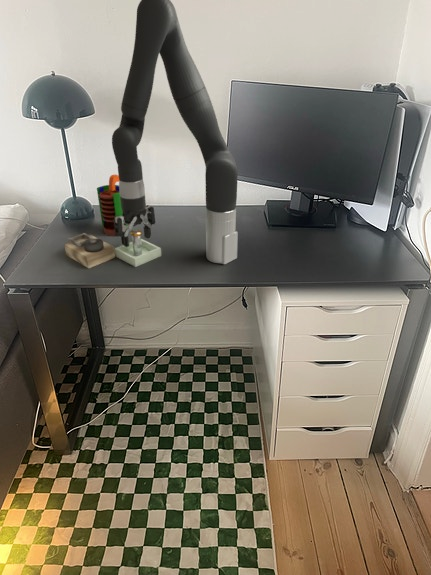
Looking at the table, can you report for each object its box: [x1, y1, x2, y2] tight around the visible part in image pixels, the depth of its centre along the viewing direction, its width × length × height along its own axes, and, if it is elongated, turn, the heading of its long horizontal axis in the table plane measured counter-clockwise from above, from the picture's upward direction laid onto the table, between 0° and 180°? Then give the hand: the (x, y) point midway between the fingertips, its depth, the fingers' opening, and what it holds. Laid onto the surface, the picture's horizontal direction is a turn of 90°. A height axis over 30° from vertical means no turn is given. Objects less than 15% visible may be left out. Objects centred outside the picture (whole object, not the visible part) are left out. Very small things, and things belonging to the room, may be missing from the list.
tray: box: [114, 238, 162, 268], centre depth 147 cm, size 11×11×3 cm
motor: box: [96, 174, 129, 236], centre depth 160 cm, size 10×9×20 cm
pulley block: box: [64, 232, 116, 269], centre depth 146 cm, size 14×10×7 cm
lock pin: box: [130, 229, 142, 256], centre depth 145 cm, size 3×3×8 cm
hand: (137, 241), depth 145 cm, fingers open, 8 cm apart
